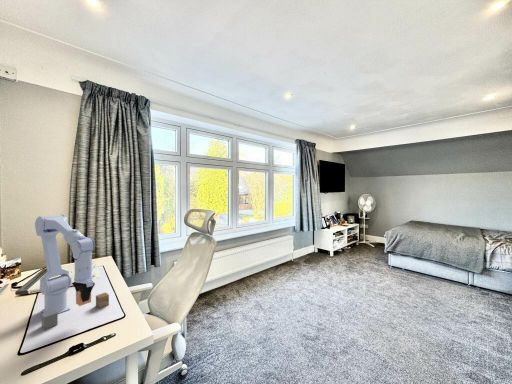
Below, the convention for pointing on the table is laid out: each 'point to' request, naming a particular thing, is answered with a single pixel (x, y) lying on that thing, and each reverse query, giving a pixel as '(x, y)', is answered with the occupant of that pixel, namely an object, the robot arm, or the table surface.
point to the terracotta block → (79, 300)
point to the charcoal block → (49, 319)
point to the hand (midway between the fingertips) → (83, 299)
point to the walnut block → (102, 300)
